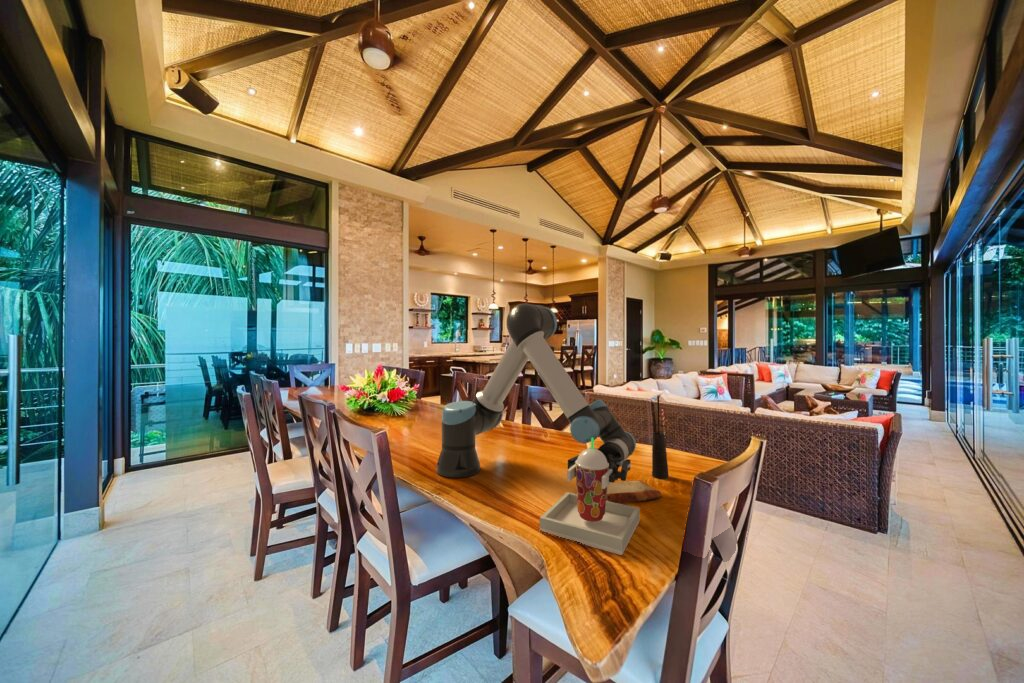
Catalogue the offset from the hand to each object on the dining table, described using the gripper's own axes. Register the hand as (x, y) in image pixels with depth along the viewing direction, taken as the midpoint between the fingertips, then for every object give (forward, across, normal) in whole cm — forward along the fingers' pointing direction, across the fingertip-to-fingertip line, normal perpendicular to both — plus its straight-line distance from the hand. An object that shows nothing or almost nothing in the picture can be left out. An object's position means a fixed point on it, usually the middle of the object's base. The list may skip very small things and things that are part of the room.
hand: (585, 479), depth 96 cm
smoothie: (-5, 0, -11) cm, 12 cm away
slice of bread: (-28, -3, -14) cm, 31 cm away
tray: (-5, 0, -13) cm, 14 cm away
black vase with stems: (-52, -9, -14) cm, 54 cm away
